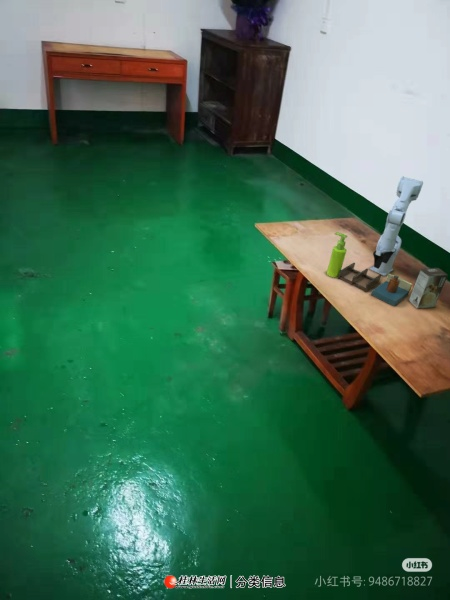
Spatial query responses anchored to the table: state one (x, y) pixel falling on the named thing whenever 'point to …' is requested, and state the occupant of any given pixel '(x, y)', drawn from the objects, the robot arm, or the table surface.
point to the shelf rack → (358, 277)
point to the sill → (392, 297)
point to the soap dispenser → (337, 257)
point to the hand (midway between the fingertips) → (380, 265)
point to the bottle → (393, 284)
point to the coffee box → (428, 287)
